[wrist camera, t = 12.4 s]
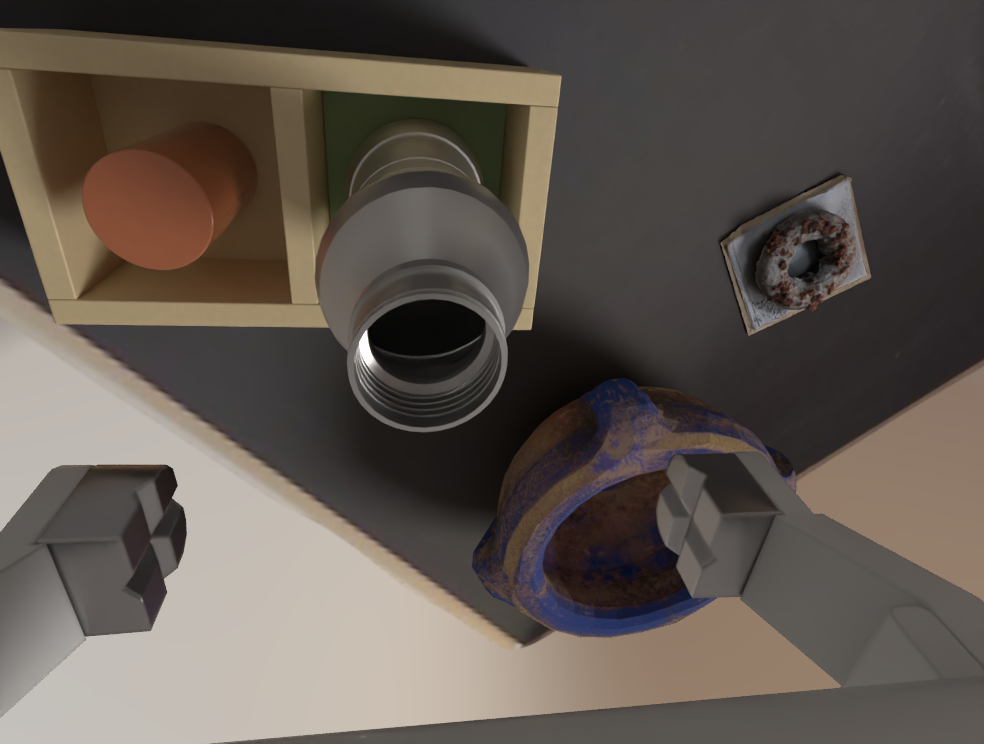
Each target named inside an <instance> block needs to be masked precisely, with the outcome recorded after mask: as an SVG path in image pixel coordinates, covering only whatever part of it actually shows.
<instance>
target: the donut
mask: <svg viewBox="0 0 984 744" xmlns="http://www.w3.org/2000/svg"><path fill="white" fill-rule="evenodd" d="M851 181H852V179H851V178H849V177H847V176H846V177H845V176H843V175H842V176H841V175H840V176H838V177H836V178H835V179H832V180H830V181H828V182H826V183H824V184H822V185H819V186H817V187H816V188H814V189H812V190H809V191H808V192H807V193H806V192H805V193H802V194H801V195H800V196H797V197H795V198H794V199H792V200H791V201H790V200H789V201H788V202H784V203H783V204H781V205H780V206H778V207H776V208H774V209H772V210H770V211H768V212H766V213H764V214H762V215H761V216H760V215H759V216H758V217H756V218H755V219H753V220H750V221H749V222H747V223H744V224H742V225H741V226H740V227H739V228H738V229H737V230H736V231H735V232H732V233H731V235H730V236H729V237H728V238H727V239H726V238H725V239H724V240H723V241H722V242H721V246H722V249H723V253H724V255H725V259H726V262H727V266H728V269H729V272H730V276H731V278H732V279H731V280H732V281H733V283H734V284H733V286H734V288H735V291H736V292H735V294H736V295H737V300H738V303H739V306H740V308H741V311H742V317H743V318H744V319H743V320H744V322H745V325H746V328H747V332H748V335H751V334H754V333H756V332H758V331H760V330H762V329H764V328H766V327H768V326H771V325H773V324H775V323H776V322H780V321H782V320H784V319H786V318H788V317H790V316H792V315H795V314H797V312H800V311H803V310H804V309H806V308H807V309H809V310H811V311H814V309H816V307H817V305H818V303H822V302H823V301H824V300H825V299H828V298H830V297H832V296H835V295H837V294H838V293H841V292H842V291H845V290H847V289H849V288H851V287H853V286H855V285H856V284H858V283H861V282H863V281H865V280H868V279H870V278H871V275H870V274H871V273H870V269H869V266H868V261H867V256H866V252H865V247H864V242H863V239H862V233H861V228H860V223H859V220H858V216H857V210H856V207H855V206H856V203H855V200H854V194H853V189H852V188H851V187H852V185H851Z"/></svg>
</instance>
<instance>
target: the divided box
mask: <svg viewBox="0 0 984 744" xmlns="http://www.w3.org/2000/svg"><path fill="white" fill-rule="evenodd" d="M560 85H561V75H559V74H555V73H551V72H547V71H543V70H539V69H535V68H531V67H523V66H511V65H498V64H486V63H473V62H461V61H449V60H436V59H424V58H412V57H399V56H387V55H374V54H362V53H350V52H337V51H325V50H313V49H300V48H288V47H275V46H263V45H251V44H238V43H226V42H214V41H201V40H189V39H176V38H164V37H152V36H139V35H127V34H114V33H102V32H90V31H77V30H65V29H23V28H0V152H1V155H2V158H3V161H4V164H5V167H6V170H7V174H8V177H9V180H10V183H11V186H12V189H13V192H14V195H15V199H16V202H17V205H18V208H19V211H20V214H21V217H22V221H23V224H24V227H25V230H26V233H27V236H28V239H29V243H30V246H31V249H32V252H33V255H34V258H35V261H36V264H37V268H38V271H39V274H40V277H41V280H42V283H43V286H44V290H45V293H46V296H47V298H48V299H49V300H48V302H49V305H50V308H51V311H52V314H53V318H54V321H55V323H56V324H102V325H178V326H255V327H329V326H328V324H327V322H326V320H325V318H324V315H323V312H322V310H321V307H320V304H319V302H318V299H317V293H316V286H315V264H316V256H317V253H318V250H319V246H320V243H321V239H322V237H323V235H324V233H325V231H326V229H327V228H328V226H329V224H330V222H331V220H332V219H333V217H334V216H335V214H336V213H337V212H338V210H339V209H340V208H341V207H342V206H343V205H344V203H345V202H346V201H347V200H346V191H345V188H346V176H347V172H348V169H349V166H350V162H351V160H352V158H353V156H354V155H355V153H356V151H357V149H358V148H359V147H360V145H361V144H362V143H363V142H364V141H365V139H366V138H367V137H369V136H370V135H371V134H372V133H374V132H375V131H376V130H377V129H379V128H381V127H383V126H385V125H387V124H389V123H392V122H396V121H399V120H403V119H418V118H419V119H425V120H431V121H435V122H437V123H440V124H442V125H445V126H447V127H448V128H450V129H452V130H453V131H455V132H456V133H458V134H459V135H460V136H461V137H462V138H463V139H464V140H465V141H466V142H467V143H468V145H469V146H470V148H471V149H472V151H473V152H474V154H475V155H476V158H477V160H478V162H479V165H480V167H481V172H482V177H483V186H484V187H486V188H487V189H488V190H489V191H490V192H491V193H492V194H493V195H495V196H496V197H497V198H498V199H499V200H500V201H501V202H502V203H503V204H504V205H505V206H506V207H507V208H508V210H509V211H510V212H511V214H512V215H513V217H514V218H515V220H516V221H517V223H518V224H519V226H520V229H521V232H522V234H523V237H524V239H525V242H526V245H527V251H528V257H529V283H528V287H527V291H526V296H525V300H524V304H523V308H522V311H521V314H520V316H519V318H518V320H517V322H516V324H515V326H514V328H513V330H531V328H532V320H533V312H534V309H533V308H534V304H535V296H536V288H537V279H538V271H539V262H540V254H541V246H542V237H543V229H544V221H545V212H546V204H547V195H548V187H549V179H550V170H551V162H552V153H553V145H554V137H555V128H556V120H557V111H558V108H557V106H558V102H559V94H560ZM189 122H207V123H211V124H215V125H218V126H220V127H222V128H224V129H226V130H228V131H229V132H231V133H232V134H234V135H235V136H236V137H237V138H238V139H239V140H240V141H241V142H242V143H243V144H244V145H245V146H246V148H247V149H248V151H249V152H250V154H251V156H252V158H253V160H254V162H255V166H256V170H257V177H258V182H257V189H256V193H255V195H254V197H253V199H252V201H251V202H250V204H249V205H248V206H247V207H246V208H245V209H244V210H243V211H242V212H241V214H240V215H239V216H238V217H237V218H236V219H235V220H234V221H233V222H232V223H231V224H230V225H229V226H228V227H227V229H226V230H225V231H224V232H223V233H222V234H221V235H220V236H219V237H218V238H217V239H216V240H215V241H214V243H213V244H212V245H211V246H210V247H209V248H208V249H207V250H206V251H205V252H204V253H203V254H202V255H201V256H200V257H199V258H198V259H197V260H195V261H194V262H192V263H191V264H188V265H186V266H184V267H180V268H177V269H171V270H156V269H149V268H144V267H141V266H138V265H135V264H133V263H130V262H128V261H126V260H124V259H123V258H121V257H119V256H118V255H116V254H115V253H113V252H112V251H111V250H110V249H109V248H107V247H106V246H105V245H104V244H103V243H102V242H101V241H100V239H99V238H98V237H97V236H96V234H95V233H94V231H93V230H92V228H91V227H90V225H89V223H88V221H87V219H86V216H85V213H84V209H83V204H82V187H83V183H84V179H85V177H86V175H87V172H88V171H89V169H90V168H91V167H92V165H93V164H94V163H95V162H96V161H97V160H99V159H100V158H102V157H103V156H105V155H107V154H109V153H111V152H114V151H116V150H119V149H121V148H124V147H126V146H129V145H131V144H134V143H136V142H139V141H141V140H144V139H147V138H149V137H152V136H154V135H157V134H159V133H162V132H164V131H167V130H169V129H172V128H174V127H177V126H180V125H182V124H185V123H189Z"/></svg>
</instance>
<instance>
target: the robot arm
mask: <svg viewBox="0 0 984 744" xmlns="http://www.w3.org/2000/svg"><path fill="white" fill-rule="evenodd" d="M665 473H666V475H667V476H668V478H669V480H670V482H671V483H670V484H668V485H667V486H666V487H665V488H664V489H663V490H662V491H661V492H660V493H659V497H658V502H657V506H656V516H657V525H658V529H659V533H660V536H661V538H662V540H663V542H664V544H665V546H666V547H668V548H669V549H671V550H672V551H673V552H675V553H676V554H678V555H679V558H678V561H677V564H676V568H677V570H678V571H679V573H680V575H681V577H682V579H683V581H684V583H685V585H686V587H687V589H688V591H689V593H690V595H691V597H692V598H715V597H741V598H740V599H741V600H742V601H743V602H744V603H745V604H747V605H748V606H749V607H750V608H751V609H752V610H753V611H755V612H756V613H757V614H758V615H759V616H760V617H762V618H763V619H764V620H765V621H766V622H768V623H769V624H770V625H771V626H772V627H774V628H775V629H776V630H777V631H778V632H779V633H780V634H782V635H783V636H784V637H785V638H786V639H787V640H789V641H790V642H791V643H792V644H793V645H795V646H796V647H797V648H798V649H799V650H801V651H802V652H803V653H804V654H805V655H806V656H807V657H809V658H810V659H811V660H812V661H813V662H815V663H816V664H817V665H818V666H819V667H820V668H821V669H823V670H824V671H825V672H826V673H827V674H829V675H830V676H831V677H832V678H833V679H834V680H836V681H837V682H838V683H839V684H840V685H841V687H840V688H834V689H822V690H811V691H801V692H789V693H777V694H767V695H754V696H745V697H744V696H743V697H732V698H721V699H710V700H699V701H688V702H676V703H665V704H655V705H643V706H632V707H621V708H610V709H599V710H587V711H577V712H565V713H555V714H543V715H532V716H521V717H508V718H497V719H486V720H474V721H463V722H453V723H452V722H451V723H440V724H428V725H418V726H406V727H396V728H395V727H394V728H383V729H371V730H360V731H349V732H339V733H326V734H315V735H303V736H292V737H282V738H270V739H258V740H247V741H235V742H224V743H213V744H984V602H983V601H982V600H981V599H980V598H978V597H976V596H974V595H973V594H971V593H969V592H967V591H965V590H963V589H961V588H960V587H958V586H956V585H954V584H952V583H950V582H948V581H947V580H945V579H943V578H941V577H939V576H937V575H935V574H933V573H932V572H930V571H928V570H926V569H924V568H922V567H920V566H918V565H917V564H915V563H913V562H911V561H909V560H907V559H906V558H903V557H902V556H900V555H898V554H896V553H894V552H892V551H890V550H889V549H887V548H885V547H883V546H881V545H879V544H877V543H876V542H874V541H872V540H870V539H868V538H866V537H864V536H863V535H861V534H859V533H857V532H855V531H853V530H851V529H850V528H848V527H846V526H844V525H842V524H840V523H838V522H836V521H835V520H833V519H831V518H829V517H827V516H825V515H823V514H813V513H812V512H811V510H810V509H809V508H808V507H807V506H806V505H805V503H804V502H803V501H802V500H801V499H800V497H799V496H798V495H797V494H796V493H795V492H794V490H793V489H792V488H791V487H790V486H789V484H788V483H787V482H786V481H785V480H784V479H783V477H782V476H781V475H780V474H779V473H778V472H777V470H776V469H775V468H774V467H773V466H772V465H771V463H770V462H769V461H768V460H767V459H766V458H765V456H764V455H762V454H761V453H759V452H757V451H742V452H728V453H708V454H674V455H673V456H672V458H671V459H670V460H669V462H668V466H667V469H666V472H665ZM177 486H178V485H177V481H176V478H175V475H174V471H173V469H172V468H171V467H169V466H168V465H97V466H94V465H62V466H59V467H56V468H54V469H52V470H51V471H50V472H49V473H48V474H47V475H46V477H45V478H44V479H43V480H42V482H41V483H40V484H39V485H38V487H37V488H36V489H35V490H34V491H33V493H32V494H31V495H30V496H29V498H28V499H27V500H26V501H25V503H24V504H23V505H22V506H21V507H20V509H19V510H18V511H17V512H16V514H15V515H14V516H13V517H12V519H11V520H10V521H9V522H8V523H7V525H6V526H5V527H4V528H3V530H2V531H1V532H0V718H1V717H2V716H3V715H4V714H5V713H6V712H7V711H9V710H10V709H11V708H12V707H13V706H14V705H15V704H16V703H17V702H18V701H20V700H21V698H23V697H24V696H25V695H26V694H27V693H28V692H29V691H30V690H32V689H33V687H35V686H36V685H37V684H38V683H39V682H40V681H41V680H43V679H44V678H45V677H46V676H47V675H48V674H49V673H50V672H51V671H52V670H53V669H55V668H56V667H57V666H58V665H59V664H60V663H61V662H62V661H63V660H64V659H65V658H67V657H68V656H69V655H70V654H71V653H72V652H73V651H74V650H75V649H76V648H77V647H79V646H80V645H81V644H82V643H83V642H84V641H85V640H86V638H85V637H86V636H96V635H108V634H120V633H132V632H143V631H151V629H152V627H153V624H154V622H155V619H156V617H157V615H158V612H159V610H160V608H161V606H162V603H163V601H164V598H165V596H166V594H167V590H166V586H165V583H164V578H165V577H167V576H168V575H169V574H170V573H172V572H173V571H174V570H176V569H177V568H178V565H179V563H180V560H181V558H182V555H183V552H184V547H185V540H186V534H187V531H186V518H185V514H184V510H183V507H182V506H181V505H179V504H178V503H177V502H176V501H174V500H173V499H172V496H173V494H174V492H175V490H176V488H177Z"/></svg>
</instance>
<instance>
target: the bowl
mask: <svg viewBox="0 0 984 744" xmlns="http://www.w3.org/2000/svg"><path fill="white" fill-rule="evenodd" d="M742 451H757V452H759V453H761V454H762V455H764V456H765V458H766V459H767V460H768V461H769V462H770V463H771V465H772V466H773V467H774V468H775V469H776V470H777V472H778V473H779V474H780V475H781V476H782V477H783V479H784V480H785V481H786V482H787V483H788V484H789V486H790V487H791V488H792V489H793V490H794V492H795V493H796V475H795V472H794V469H793V467H792V465H791V463H790V461H789V460H788V459H787V458H786V457H785V456H784V455H783V454H782V453H781V452H779V451H777V450H774V449H772V448H770V447H768V446H765V445H763V444H762V443H761V441H760V440H759V439H758V438H757V437H756V435H755V434H754V433H753V432H752V431H750V430H749V429H747V428H746V427H744V426H742V425H741V424H739V423H737V422H736V421H734V420H733V419H731V418H729V417H728V416H726V415H724V414H723V413H721V412H719V411H718V410H716V409H714V408H713V407H711V406H710V405H708V404H706V403H705V402H703V401H701V400H699V399H697V398H695V397H693V396H690V395H688V394H685V393H683V392H680V391H678V390H675V389H670V388H659V387H649V386H637V385H636V384H635V383H634V382H632V381H631V380H629V379H624V378H618V379H611V380H606V381H605V382H603V383H601V384H600V385H598V386H597V387H595V388H594V389H593V390H592V391H590V392H587V393H584V394H583V395H582V396H581V397H580V398H579V399H577V400H575V401H572V402H570V403H569V404H567V405H566V406H564V407H562V408H560V409H559V410H557V411H555V412H554V413H553V414H552V415H550V416H549V417H548V418H547V419H546V420H544V421H543V422H542V423H541V424H540V425H539V426H538V427H537V428H536V429H535V431H534V432H533V433H532V434H531V436H530V437H529V438H528V439H527V441H526V442H525V443H524V444H523V446H522V447H521V448H520V449H519V451H518V452H517V453H516V454H515V456H514V458H513V460H512V462H511V464H510V466H509V468H508V470H507V472H506V474H505V476H504V480H503V484H502V488H501V492H500V496H499V502H498V512H497V516H496V518H495V519H494V521H493V522H492V524H491V526H490V527H489V529H488V530H487V532H486V533H485V535H484V536H483V538H482V540H481V541H480V543H479V544H478V546H477V547H476V549H475V550H474V552H473V561H472V567H473V569H474V571H475V573H476V575H477V576H478V578H479V579H480V581H481V583H482V584H483V586H484V587H485V588H486V590H487V591H488V592H489V593H490V594H491V595H492V596H493V597H495V598H497V599H500V600H502V601H505V602H507V603H509V604H510V605H512V606H513V607H515V608H516V609H518V610H519V611H521V612H523V613H524V614H526V615H527V616H529V617H531V618H533V619H534V620H536V621H538V622H539V623H541V624H543V625H545V626H546V627H548V628H550V629H552V630H555V631H559V632H563V633H567V634H571V635H574V636H578V637H604V638H612V637H617V636H623V635H629V634H634V633H639V632H644V631H648V630H651V629H655V628H659V627H663V626H666V625H670V624H673V623H676V622H678V621H680V620H682V619H683V618H685V617H687V616H689V615H690V614H692V613H694V612H696V611H697V610H699V609H701V608H703V607H704V606H706V605H707V604H709V603H710V602H712V601H713V600H715V599H716V598H718V597H715V598H692V597H691V595H690V593H689V591H688V589H687V587H686V585H685V583H684V581H683V579H682V577H681V575H680V573H679V571H678V570H677V568H676V564H677V561H678V558H679V555H678V554H676V553H675V552H673V551H672V550H671V549H669V548H668V547H666V546H665V544H664V542H663V540H662V538H661V536H660V533H659V529H658V525H657V516H656V506H657V502H658V497H659V493H660V492H661V491H662V490H663V489H664V488H665V487H666V486H667V485H668V484H670V483H671V482H670V480H669V478H668V476H667V475H666V473H665V472H666V469H667V466H668V462H669V460H670V459H671V458H672V456H673V455H674V454H708V453H728V452H742Z"/></svg>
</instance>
